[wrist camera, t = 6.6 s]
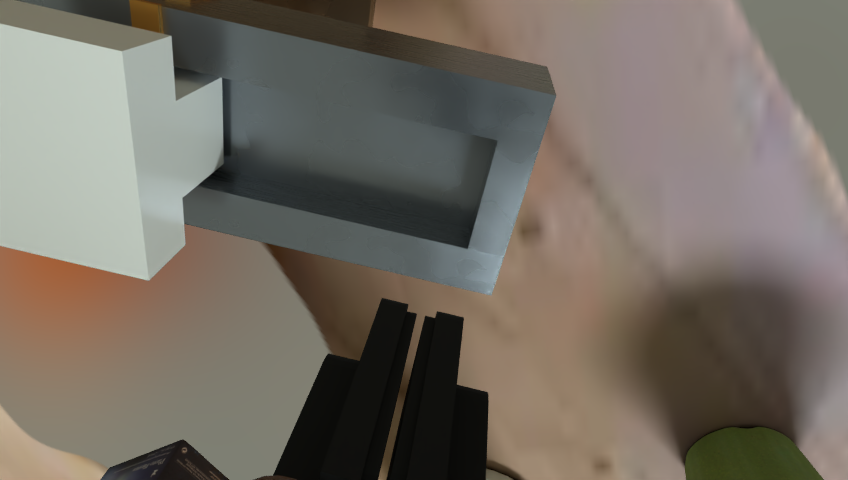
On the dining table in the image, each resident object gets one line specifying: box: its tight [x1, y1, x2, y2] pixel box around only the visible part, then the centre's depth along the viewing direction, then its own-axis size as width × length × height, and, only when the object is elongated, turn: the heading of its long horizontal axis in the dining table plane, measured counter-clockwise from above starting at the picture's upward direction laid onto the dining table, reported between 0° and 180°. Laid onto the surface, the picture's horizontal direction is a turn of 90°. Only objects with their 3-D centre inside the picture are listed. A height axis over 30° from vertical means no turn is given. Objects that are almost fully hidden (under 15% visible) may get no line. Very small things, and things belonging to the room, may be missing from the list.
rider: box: [0, 0, 224, 281], centre depth 15 cm, size 5×6×5 cm
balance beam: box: [16, 0, 556, 295], centre depth 21 cm, size 23×12×12 cm, turn 79°
